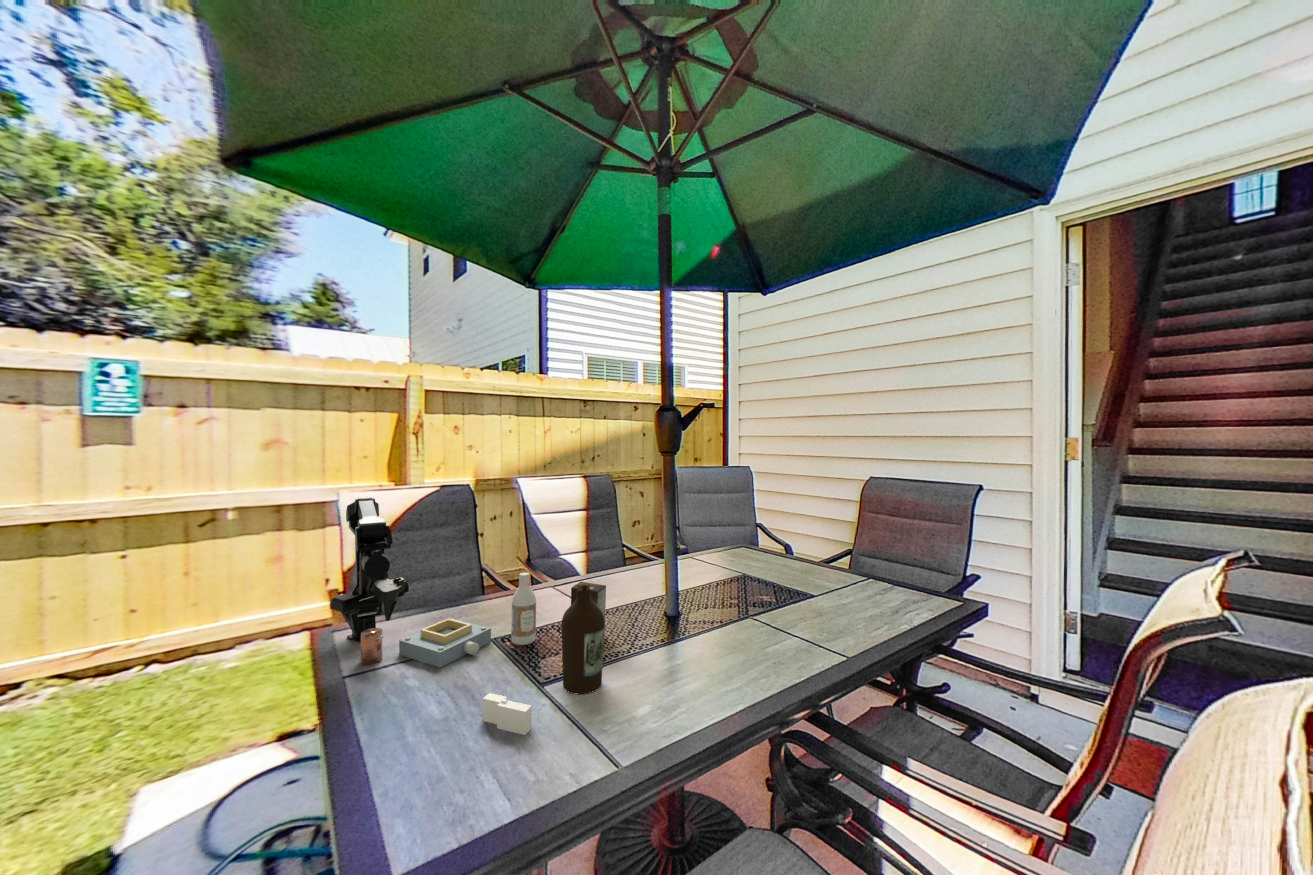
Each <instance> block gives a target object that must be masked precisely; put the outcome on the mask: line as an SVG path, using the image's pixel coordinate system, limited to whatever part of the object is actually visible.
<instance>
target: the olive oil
mask: <svg viewBox="0 0 1313 875" xmlns="http://www.w3.org/2000/svg"><path fill="white" fill-rule="evenodd" d="M580 582H581V583H579V582H578V583H576V584H577V599H576V600H575V602H574V603H573V604H572V605H571V604H570V606H569V607H568V608H567V609H566V610H565V612H564V613H563V616H562V618H561V623H560V624H561V625H560V626H561V627H560V628H561V653H562V654H561V656H562V686H564V687H563V689H564V688H565V689H566V690H567V691H566V690H565V689H564V690H565V691H566V692H568V691H569V692H568V693H570V692H572V693H571V694H573V693H578V694H577V695H585V694H584V693H588V694H590V693H589V692H591V693H593V692H592V691H594V692H596V691H597V690H598V688H599V687H601V686H602V681H603V680H602V678H603V668H604V666H605V661H604V644H605V642H604V641H605V638H604V631H605V632H606V619H605V620H604V616H603V613H602V611H601V610H600V608H599V607H598V606H597V605H596V604H595V603H594V602H593V601H592V600H591V599H590V590H591V589H590V583H591V582H587V581H580ZM596 689H597V690H596ZM599 689H600V688H599ZM595 690H596V691H595Z"/></svg>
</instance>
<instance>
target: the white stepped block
mask: <svg viewBox="0 0 1313 875" xmlns="http://www.w3.org/2000/svg"><path fill="white" fill-rule="evenodd" d="M481 707H482V709H481V710H482V714H481V717H482V719H481V720H482V722H486V723H490V724H495V725H496V729H499V730H502V731H507V732H511V733H516V734H519V735H523V736H526V735H527V734H528V733H529V732H530V731H531V730H532V720H533V719H532V715H533V708H532V707H533V706H532V705H530V704H526V703H520V702H517V701H516V702H515V701H511V700H508V696H505V695H500V694H496V693H493V692H489V693H488V694H486V695H485V696H484V697H483V698H482V706H481Z"/></svg>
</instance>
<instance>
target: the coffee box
mask: <svg viewBox="0 0 1313 875" xmlns="http://www.w3.org/2000/svg"><path fill="white" fill-rule="evenodd" d="M581 582H582V581H580V582H578V583H581ZM578 583H576V584H575V585H573V586H571V589H570V606H571V605H572V604H573V603H574V602H575V600H576V599H577V584H578ZM589 583H590V589H591V590H590V599H591V600H592V601H593V602H594V603H595V604H596V605H597V606H598V607H599V608H600V610H601V611H602V613H603V616H604V620H605V621H606V610H607V609H606V605H607V604H606V601H607V600H606V599H607V585H605V584H598V583H592V582H589ZM605 636H606V630H605V631H604V637H605ZM605 638H606V637H605Z"/></svg>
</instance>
